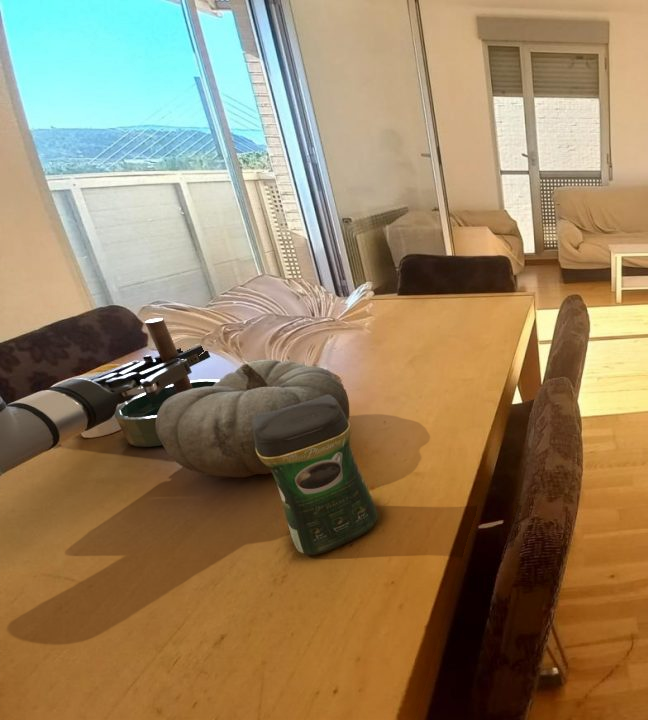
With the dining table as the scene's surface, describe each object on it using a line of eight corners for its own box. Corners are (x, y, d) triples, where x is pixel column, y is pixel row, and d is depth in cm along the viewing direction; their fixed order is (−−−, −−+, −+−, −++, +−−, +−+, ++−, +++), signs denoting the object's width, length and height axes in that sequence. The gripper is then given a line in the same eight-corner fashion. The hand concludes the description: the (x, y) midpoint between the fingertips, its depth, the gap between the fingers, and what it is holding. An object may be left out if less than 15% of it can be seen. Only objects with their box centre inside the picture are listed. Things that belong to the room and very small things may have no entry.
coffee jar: (368, 499, 68) (334, 383, 61) (385, 528, 62) (349, 404, 55) (289, 532, 62) (241, 408, 55) (300, 568, 57) (248, 435, 49)
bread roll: (141, 372, 113) (134, 357, 112) (116, 388, 105) (108, 372, 104) (98, 377, 111) (90, 362, 110) (70, 394, 103) (61, 377, 102)
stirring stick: (174, 411, 89) (133, 321, 82) (207, 401, 93) (170, 314, 86) (178, 420, 86) (135, 327, 79) (212, 409, 90) (174, 319, 82)
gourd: (121, 507, 64) (94, 383, 60) (220, 438, 87) (206, 346, 83) (330, 489, 70) (317, 376, 66) (370, 429, 94) (362, 343, 90)
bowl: (126, 428, 89) (111, 400, 86) (228, 398, 99) (218, 372, 97) (133, 460, 79) (117, 429, 76) (246, 423, 89) (235, 395, 87)
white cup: (135, 413, 94) (113, 368, 90) (136, 428, 89) (112, 380, 85) (78, 429, 89) (51, 381, 85) (75, 445, 84) (47, 395, 80)
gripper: (26, 434, 71) (166, 369, 92) (127, 432, 70) (244, 367, 92) (-2, 389, 68) (150, 333, 89) (104, 387, 67) (230, 331, 89)
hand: (197, 350), depth 91 cm, fingers closed on stirring stick, 2 cm apart
